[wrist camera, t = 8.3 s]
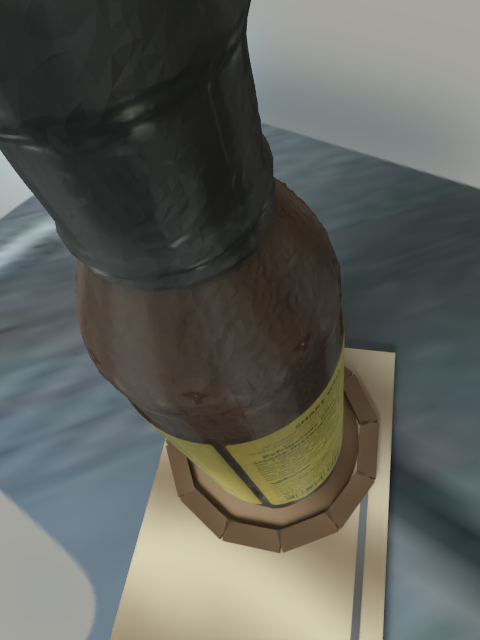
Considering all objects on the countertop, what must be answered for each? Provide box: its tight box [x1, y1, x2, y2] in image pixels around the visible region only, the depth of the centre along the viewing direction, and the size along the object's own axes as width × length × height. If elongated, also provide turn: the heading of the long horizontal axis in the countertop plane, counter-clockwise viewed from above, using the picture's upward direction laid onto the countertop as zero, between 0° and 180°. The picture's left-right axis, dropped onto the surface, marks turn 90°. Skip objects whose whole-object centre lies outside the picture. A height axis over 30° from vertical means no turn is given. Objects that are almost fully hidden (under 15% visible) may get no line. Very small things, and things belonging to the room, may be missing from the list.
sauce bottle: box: [0, 0, 344, 509], centre depth 13 cm, size 6×6×20 cm
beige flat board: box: [110, 348, 395, 640], centre depth 20 cm, size 17×10×1 cm, turn 169°
